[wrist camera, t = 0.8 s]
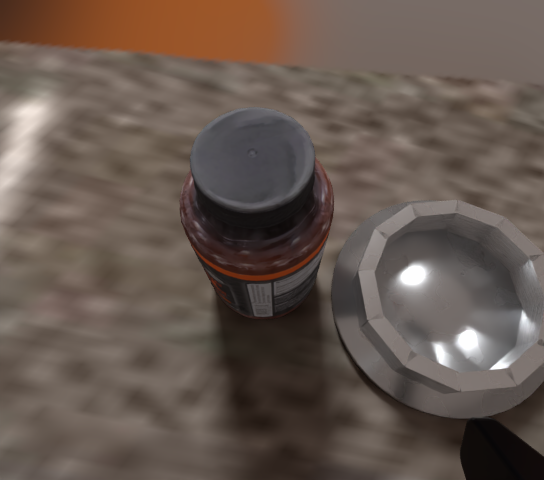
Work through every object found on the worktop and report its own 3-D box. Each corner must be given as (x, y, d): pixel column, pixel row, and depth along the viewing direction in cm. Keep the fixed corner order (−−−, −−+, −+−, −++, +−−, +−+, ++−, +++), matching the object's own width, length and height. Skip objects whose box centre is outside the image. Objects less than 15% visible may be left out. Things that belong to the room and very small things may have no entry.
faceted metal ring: (601, 325, 21) (641, 314, 19) (439, 473, 18) (461, 482, 16) (440, 171, 25) (456, 147, 23) (288, 275, 22) (289, 259, 20)
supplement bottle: (195, 251, 23) (129, 120, 13) (284, 209, 24) (289, 56, 14) (239, 342, 21) (202, 273, 11) (335, 292, 22) (385, 184, 12)
